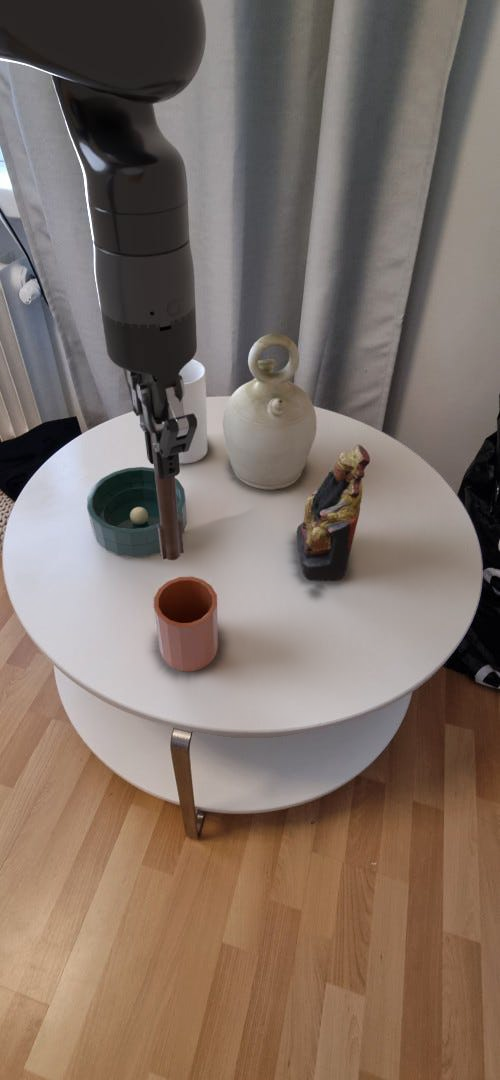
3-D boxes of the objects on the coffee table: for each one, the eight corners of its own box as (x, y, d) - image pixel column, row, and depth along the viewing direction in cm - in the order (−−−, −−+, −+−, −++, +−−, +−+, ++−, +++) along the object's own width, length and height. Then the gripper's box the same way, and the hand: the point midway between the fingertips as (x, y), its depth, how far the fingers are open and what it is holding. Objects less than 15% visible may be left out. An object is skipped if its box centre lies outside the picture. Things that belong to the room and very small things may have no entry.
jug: (231, 436, 109) (232, 306, 91) (313, 446, 108) (331, 316, 90) (215, 490, 99) (212, 356, 81) (306, 502, 98) (324, 368, 80)
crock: (173, 680, 74) (168, 636, 67) (151, 635, 79) (144, 589, 72) (227, 657, 77) (227, 612, 70) (203, 615, 81) (201, 568, 74)
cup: (191, 469, 103) (186, 389, 91) (153, 453, 105) (144, 374, 94) (216, 444, 108) (214, 366, 96) (179, 430, 110) (173, 352, 99)
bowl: (110, 573, 86) (104, 545, 82) (82, 510, 95) (75, 482, 90) (201, 541, 91) (200, 513, 87) (166, 485, 100) (163, 457, 95)
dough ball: (134, 530, 91) (132, 518, 89) (128, 519, 93) (126, 506, 91) (151, 525, 92) (149, 512, 90) (145, 514, 94) (143, 501, 92)
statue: (294, 531, 93) (308, 428, 78) (344, 534, 93) (367, 431, 78) (296, 591, 85) (311, 488, 70) (351, 594, 85) (377, 491, 70)
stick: (165, 563, 67) (150, 436, 54) (158, 551, 68) (143, 424, 55) (186, 556, 68) (176, 429, 55) (179, 544, 69) (169, 417, 56)
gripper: (76, 272, 49) (106, 439, 62) (130, 348, 41) (152, 523, 53) (160, 258, 52) (173, 422, 64) (227, 328, 43) (227, 499, 56)
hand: (163, 467), depth 59 cm, fingers closed on stick, 2 cm apart
